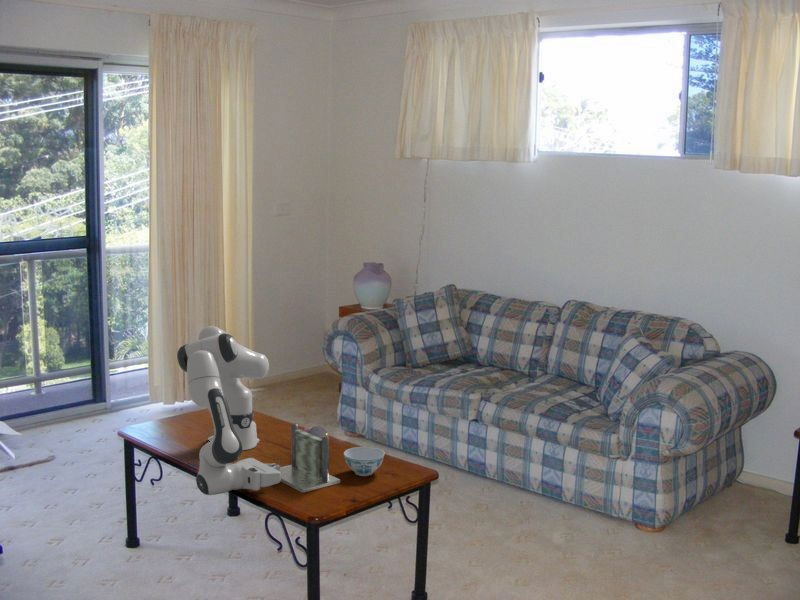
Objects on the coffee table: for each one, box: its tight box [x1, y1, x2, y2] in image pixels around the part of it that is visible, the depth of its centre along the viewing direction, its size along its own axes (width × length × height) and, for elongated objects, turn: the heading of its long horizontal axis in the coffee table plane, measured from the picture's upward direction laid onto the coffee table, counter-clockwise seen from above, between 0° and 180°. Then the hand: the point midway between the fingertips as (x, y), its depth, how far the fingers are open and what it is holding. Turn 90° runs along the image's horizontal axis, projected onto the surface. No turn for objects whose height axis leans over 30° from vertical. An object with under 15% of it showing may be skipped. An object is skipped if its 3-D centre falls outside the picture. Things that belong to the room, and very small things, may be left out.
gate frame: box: [279, 423, 341, 494], centre depth 313 cm, size 24×16×19 cm, turn 40°
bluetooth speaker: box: [308, 425, 329, 439], centre depth 336 cm, size 23×9×10 cm, turn 4°
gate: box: [295, 428, 322, 478], centre depth 315 cm, size 16×2×14 cm, turn 39°
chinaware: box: [343, 446, 385, 477], centre depth 320 cm, size 15×15×8 cm
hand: (277, 466), depth 305 cm, fingers closed
